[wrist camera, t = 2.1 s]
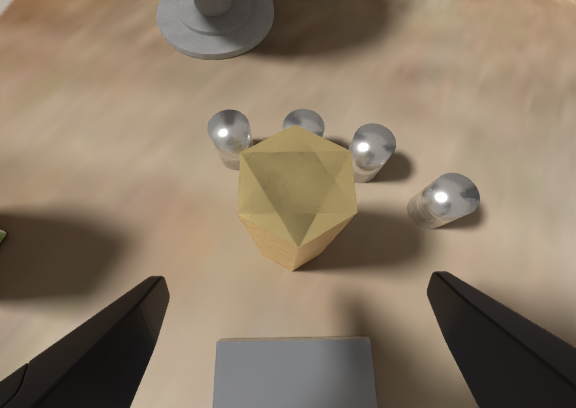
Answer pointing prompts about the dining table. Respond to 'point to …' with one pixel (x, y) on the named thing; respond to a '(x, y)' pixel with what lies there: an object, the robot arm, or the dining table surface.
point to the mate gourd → (214, 26)
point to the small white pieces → (2, 235)
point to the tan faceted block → (295, 194)
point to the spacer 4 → (443, 201)
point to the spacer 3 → (370, 151)
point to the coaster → (294, 373)
